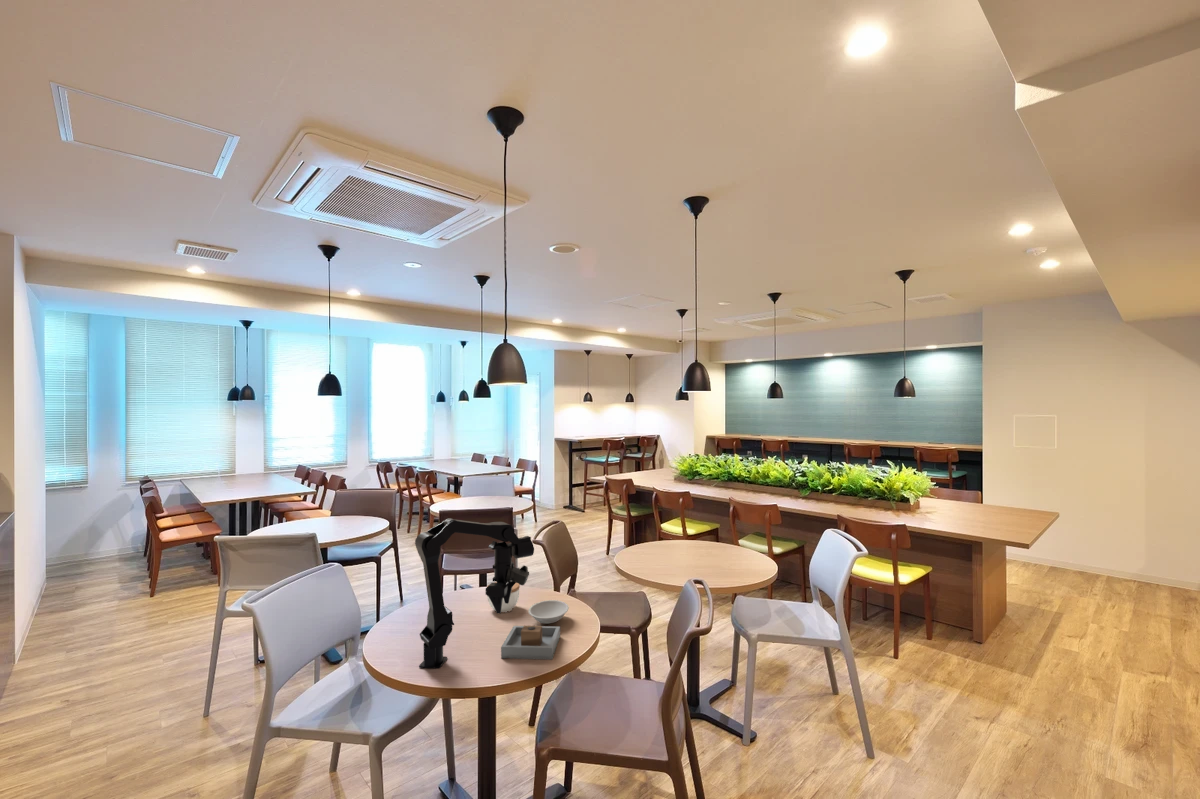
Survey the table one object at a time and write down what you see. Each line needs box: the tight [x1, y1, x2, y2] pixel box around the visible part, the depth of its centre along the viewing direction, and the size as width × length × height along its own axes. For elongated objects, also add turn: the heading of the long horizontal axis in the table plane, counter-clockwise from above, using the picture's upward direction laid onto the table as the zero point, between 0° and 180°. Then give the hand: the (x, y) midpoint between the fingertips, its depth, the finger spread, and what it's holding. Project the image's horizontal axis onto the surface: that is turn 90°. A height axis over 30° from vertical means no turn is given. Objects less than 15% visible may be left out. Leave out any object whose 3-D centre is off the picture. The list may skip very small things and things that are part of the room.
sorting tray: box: [500, 625, 561, 660], centre depth 168 cm, size 16×16×4 cm
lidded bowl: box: [486, 581, 521, 613], centre depth 201 cm, size 13×13×11 cm
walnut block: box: [521, 625, 543, 646], centre depth 168 cm, size 4×6×5 cm
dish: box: [528, 599, 570, 625], centre depth 187 cm, size 18×14×5 cm
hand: (502, 608), depth 172 cm, fingers open, 9 cm apart
